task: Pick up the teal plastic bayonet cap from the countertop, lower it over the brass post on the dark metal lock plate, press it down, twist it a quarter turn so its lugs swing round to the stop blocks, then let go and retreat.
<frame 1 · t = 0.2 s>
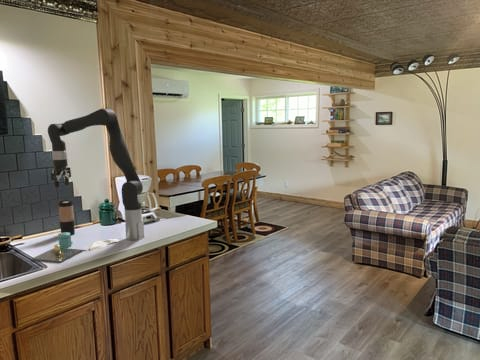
hand: (62, 186, 210), 29 cm above the worktop, fingers open, 8 cm apart
cloth: (101, 246, 195), on the worktop
teal cap: (65, 246, 192), on the worktop
travel mug: (68, 234, 213), on the worktop
lock plate: (58, 255, 178), on the worktop
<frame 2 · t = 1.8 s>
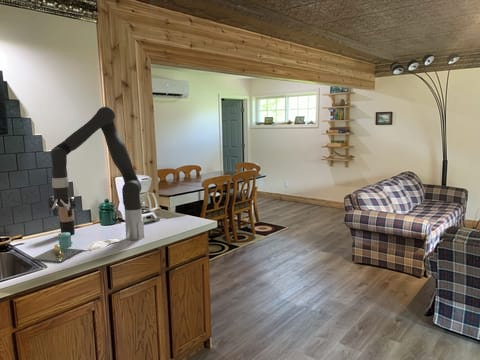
hand: (62, 216, 190), 17 cm above the worktop, fingers open, 8 cm apart
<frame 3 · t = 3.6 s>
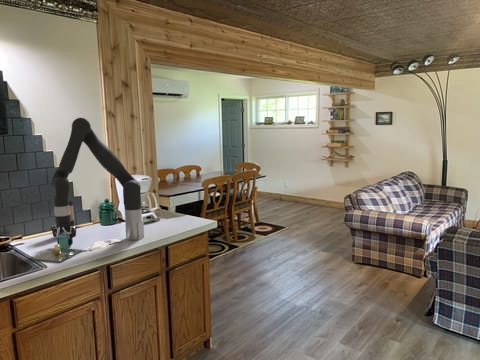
hand: (65, 244, 192), 1 cm above the worktop, fingers closed on teal cap, 5 cm apart
teal cap: (65, 246, 192), on the worktop, touching gripper, lock plate
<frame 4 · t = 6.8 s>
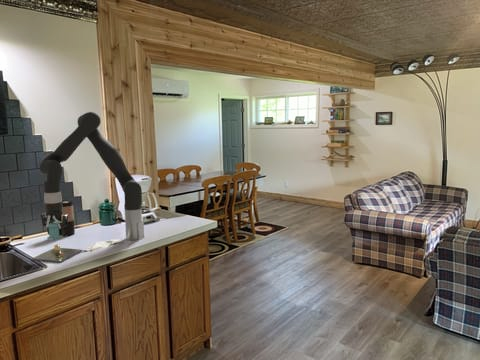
hand: (55, 234, 177), 11 cm above the worktop, fingers closed on teal cap, 5 cm apart
teal cap: (56, 236, 177), point 10 cm above the worktop, touching gripper
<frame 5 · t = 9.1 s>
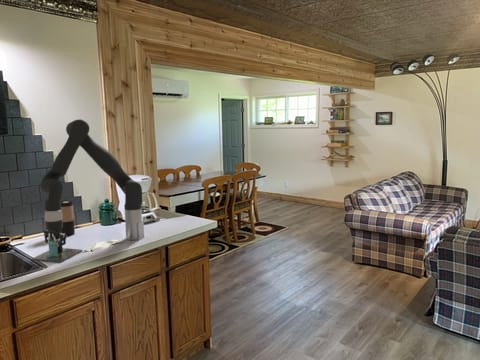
hand: (56, 252, 177), 2 cm above the worktop, fingers closed on teal cap, 5 cm apart
teal cap: (56, 254, 178), point 1 cm above the worktop, touching gripper
when the fingers open (2 cm above the worktop, at t = 10.2 s): teal cap stays where it is, resting on lock plate.
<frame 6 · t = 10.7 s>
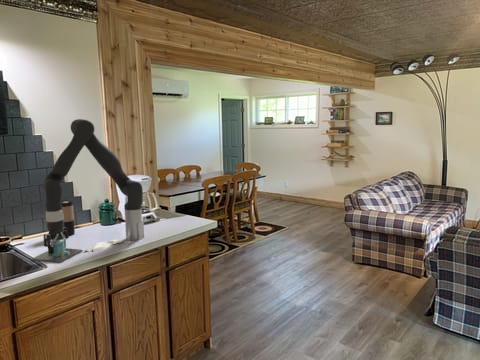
hand: (57, 251, 178), 2 cm above the worktop, fingers open, 8 cm apart
teal cap: (58, 254, 178), point 1 cm above the worktop, touching lock plate
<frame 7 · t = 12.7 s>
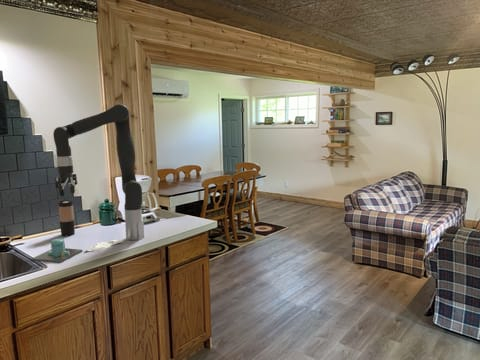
hand: (67, 194, 193), 27 cm above the worktop, fingers open, 8 cm apart
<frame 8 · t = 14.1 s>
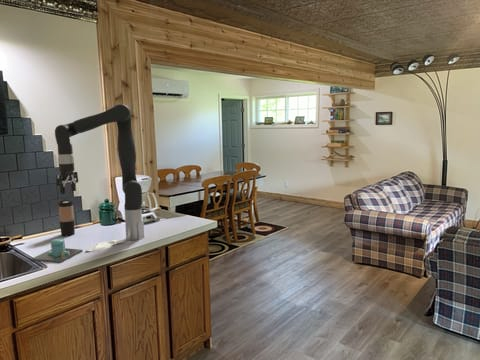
hand: (68, 192, 195), 28 cm above the worktop, fingers open, 8 cm apart
at the end: teal cap 0.5 cm off-centre on the lock plate, point 1.0 cm above the lock plate's base; teal cap tilted 0°; the gripper is holding nothing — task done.
